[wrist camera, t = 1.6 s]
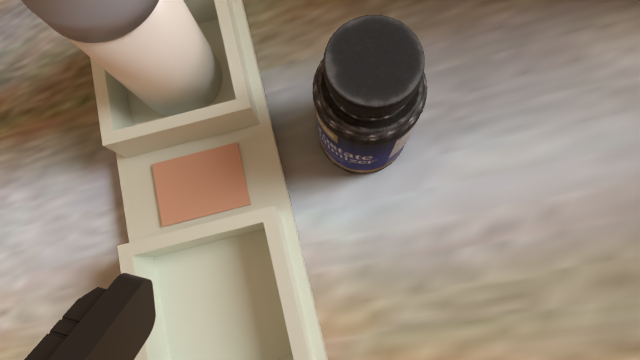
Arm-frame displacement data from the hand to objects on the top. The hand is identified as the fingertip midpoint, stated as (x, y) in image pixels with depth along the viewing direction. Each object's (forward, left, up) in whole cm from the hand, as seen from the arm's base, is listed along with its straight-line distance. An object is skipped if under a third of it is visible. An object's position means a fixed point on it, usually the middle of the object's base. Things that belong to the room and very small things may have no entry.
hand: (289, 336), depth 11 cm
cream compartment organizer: (+11, -1, -17) cm, 20 cm away
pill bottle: (+5, -11, -17) cm, 21 cm away
